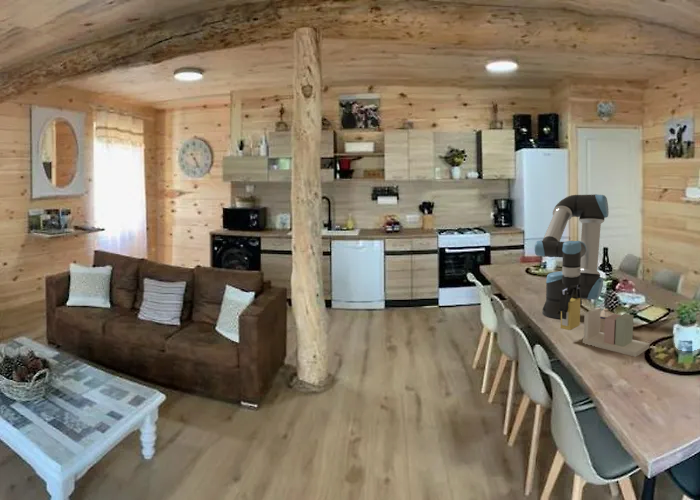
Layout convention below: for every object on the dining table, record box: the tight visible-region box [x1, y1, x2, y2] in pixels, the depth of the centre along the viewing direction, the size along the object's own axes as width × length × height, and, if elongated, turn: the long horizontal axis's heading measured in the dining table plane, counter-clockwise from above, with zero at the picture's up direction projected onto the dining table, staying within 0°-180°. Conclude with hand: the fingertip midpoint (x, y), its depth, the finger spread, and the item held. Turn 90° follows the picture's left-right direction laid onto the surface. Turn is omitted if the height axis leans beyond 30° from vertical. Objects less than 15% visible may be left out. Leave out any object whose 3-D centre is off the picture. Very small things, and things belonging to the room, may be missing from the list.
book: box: [560, 298, 581, 331], centre depth 218 cm, size 4×9×13 cm, turn 128°
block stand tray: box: [582, 307, 650, 358], centre depth 208 cm, size 22×14×14 cm, turn 38°
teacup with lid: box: [600, 308, 615, 333], centre depth 225 cm, size 12×9×12 cm
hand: (570, 322), depth 219 cm, fingers closed on book, 9 cm apart
